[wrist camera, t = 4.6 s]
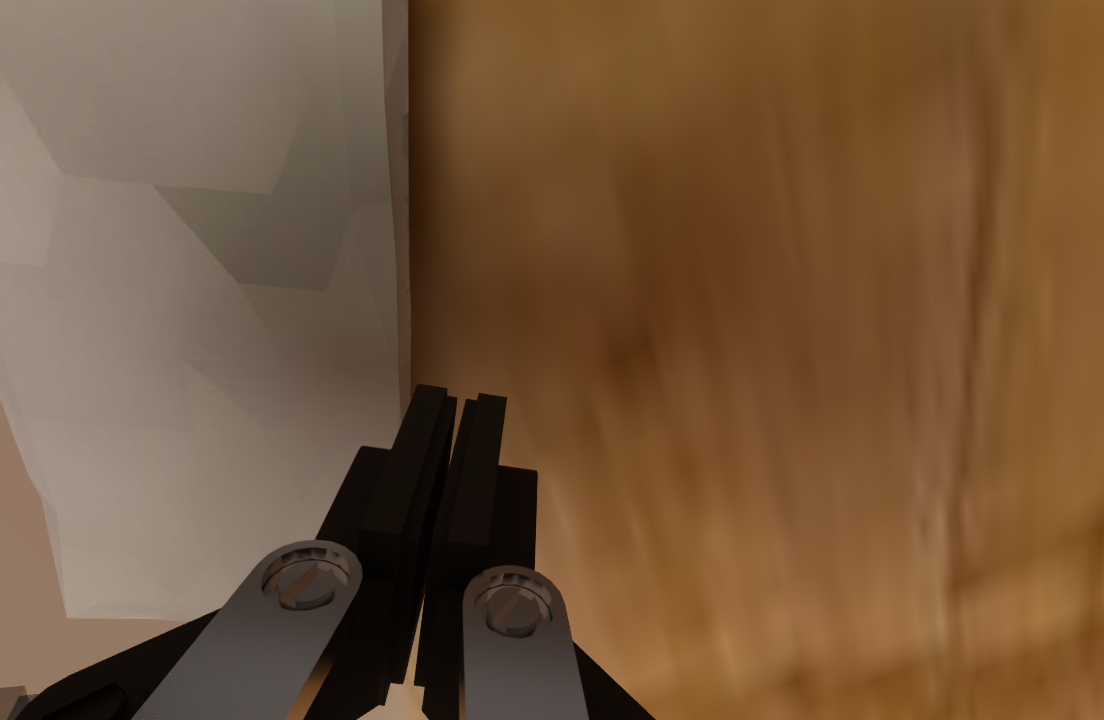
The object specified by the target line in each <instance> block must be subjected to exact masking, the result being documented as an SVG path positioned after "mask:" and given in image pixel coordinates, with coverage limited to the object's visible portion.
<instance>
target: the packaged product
mask: <svg viewBox="0 0 1104 720" xmlns="http://www.w3.org/2000/svg"><path fill="white" fill-rule="evenodd" d="M408 1H409V0H0V400H1V403H2V405H3V408H4V411H5V413H6V416H7V419H8V422H9V424H10V427H11V430H12V433H13V435H14V438H15V441H16V443H17V446H18V449H19V451H20V454H21V457H22V459H23V462H24V465H25V467H26V470H27V473H28V475H29V477H30V479H31V481H32V483H33V484H34V486H35V488H36V490H37V491H38V494H39V495H40V497H41V501H42V505H43V510H44V514H45V519H46V524H47V528H48V533H49V537H50V542H51V547H52V551H53V556H54V561H55V565H56V570H57V574H58V579H59V583H60V588H61V593H62V597H63V602H64V606H65V611H66V615H67V618H125V619H126V618H128V619H130V618H131V619H132V618H133V619H160V620H173V621H186V622H190V621H193V620H195V619H197V618H199V617H202V616H204V615H206V614H208V613H210V612H213V611H215V610H217V609H219V608H222V607H223V606H224V604H225V603H226V602H227V601H228V599H229V598H230V597H231V596H232V594H233V593H234V592H235V591H236V590H237V588H238V587H239V586H240V585H241V583H242V582H243V581H244V580H245V578H246V577H247V576H248V575H249V574H250V572H251V571H252V570H253V569H254V567H255V566H256V565H257V564H258V563H259V562H260V561H261V560H262V559H263V558H264V557H265V556H267V555H268V554H269V553H271V552H273V551H275V550H276V549H278V548H280V547H282V546H284V545H288V544H291V543H294V542H298V541H305V540H315V538H316V536H317V534H318V532H319V529H320V527H321V525H322V523H323V521H324V519H325V517H326V515H327V513H328V511H329V509H330V507H331V505H332V503H333V501H334V499H335V497H336V495H337V493H338V491H339V489H340V487H341V485H342V483H343V480H344V478H345V476H346V474H347V472H348V470H349V468H350V466H351V464H352V462H353V460H354V458H355V456H356V454H357V452H358V450H359V449H360V447H361V446H370V447H377V448H384V449H391V448H392V446H393V443H394V441H395V438H396V436H397V434H398V431H399V429H400V426H401V424H402V421H403V419H404V416H405V414H406V411H407V409H408V407H409V404H410V402H411V394H410V389H411V361H410V360H411V300H410V276H409V149H408V115H409V83H408Z"/></svg>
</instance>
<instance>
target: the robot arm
mask: <svg viewBox="0 0 1104 720" xmlns="http://www.w3.org/2000/svg"><path fill="white" fill-rule="evenodd" d="M506 401H507V397H501V396H495V395H488V394H482V393H479V394H478V399H477V400H471V399H466V401H465V405H464V410H463V414H462V418H461V422H460V426H459V430H458V434H457V438H456V442H455V446H454V450H453V454H452V458H451V462H450V466H449V461H450V454H451V446H452V438H453V430H454V422H455V415H456V407H457V397H451V396H447V388H443V387H436V386H430V385H423V384H418V385H417V387H416V389H415V392H414V394H413V397H412V399H411V402H410V404H409V407H408V409H407V411H406V414H405V416H404V419H403V421H402V424H401V426H400V429H399V431H398V434H397V436H396V438H395V441H394V443H393V446H392V448H391V449H384V448H377V447H370V446H361V447H360V449H359V450H358V452H357V454H356V456H355V458H354V460H353V462H352V464H351V466H350V468H349V470H348V472H347V474H346V476H345V478H344V480H343V483H342V485H341V487H340V489H339V491H338V493H337V495H336V497H335V499H334V501H333V503H332V505H331V507H330V509H329V511H328V513H327V515H326V517H325V519H324V521H323V523H322V525H321V527H320V529H319V532H318V534H317V536H316V538H315V540H305V541H298V542H294V543H291V544H288V545H284V546H282V547H280V548H278V549H276V550H275V551H273V552H271V553H269V554H268V555H267V556H265V557H264V558H263V559H262V560H261V561H260V562H259V563H258V564H257V565H256V566H255V567H254V569H253V570H252V571H251V572H250V574H249V575H248V576H247V577H246V578H245V580H244V581H243V582H242V583H241V585H240V586H239V587H238V588H237V590H236V591H235V592H234V593H233V594H232V596H231V597H230V598H229V599H228V601H227V602H226V603H225V604H224V606H223V607H222V608H219V609H217V610H215V611H213V612H210V613H208V614H206V615H204V616H202V617H199V618H197V619H195V620H193V621H190V622H188V623H186V624H184V625H181V626H179V627H177V628H175V629H172V630H170V631H168V632H166V633H163V634H161V635H159V636H157V637H154V638H152V639H150V640H148V641H145V642H143V643H141V644H139V645H137V646H134V647H132V648H130V649H128V650H125V651H123V652H121V653H118V654H116V655H114V656H112V657H109V658H107V659H105V660H103V661H101V662H98V663H96V664H94V665H92V666H89V667H87V668H85V669H83V670H80V671H78V672H76V673H74V674H71V675H69V676H68V677H66V678H64V679H62V680H60V681H58V682H57V683H55V684H53V685H51V686H49V687H48V688H47V689H45V690H44V691H43V692H41V693H40V694H34V695H27V692H26V689H25V686H18V687H7V688H0V720H357V719H358V718H360V717H361V716H363V715H364V714H366V713H367V712H369V711H371V710H372V709H374V708H375V707H377V706H378V705H382V706H384V705H385V702H386V698H387V695H388V691H389V687H390V683H395V684H403V683H404V679H405V675H406V671H407V667H408V662H409V658H410V654H411V650H412V645H413V641H414V637H415V633H416V628H417V624H418V620H419V616H420V611H421V607H422V603H423V599H424V605H423V613H422V621H421V629H420V638H419V646H418V654H417V663H416V671H415V679H414V686H421V687H425V690H424V697H423V705H422V711H423V713H424V714H425V715H426V717H427V718H428V719H429V720H655V719H654V718H653V717H652V716H651V715H650V714H649V713H648V712H647V711H646V710H645V709H644V708H643V707H642V706H641V705H640V704H639V703H638V702H637V701H635V700H634V699H633V698H632V697H631V696H630V695H629V694H628V693H627V692H626V691H625V690H624V689H623V688H622V687H621V686H620V685H619V684H618V683H617V682H615V681H614V680H613V679H612V678H611V677H610V676H609V675H608V674H607V673H606V672H605V671H604V670H603V669H602V668H601V667H600V666H599V665H598V664H597V663H596V662H594V661H593V660H592V659H591V658H590V657H589V656H588V655H587V654H586V653H585V652H584V651H583V650H582V649H581V648H580V647H579V646H578V645H577V644H576V643H574V642H573V640H572V636H571V631H570V626H569V621H568V616H567V612H566V607H565V603H564V601H563V598H562V595H561V593H560V591H559V590H558V589H557V588H556V586H555V585H554V584H553V583H552V582H551V581H550V580H549V579H547V578H546V577H545V576H543V575H542V574H540V573H539V572H536V571H535V545H536V513H537V481H538V472H537V471H536V470H529V469H522V468H515V467H508V466H501V465H498V464H499V456H500V448H501V440H502V432H503V425H504V417H505V409H506ZM448 469H449V470H448ZM424 594H425V596H424Z"/></svg>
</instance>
